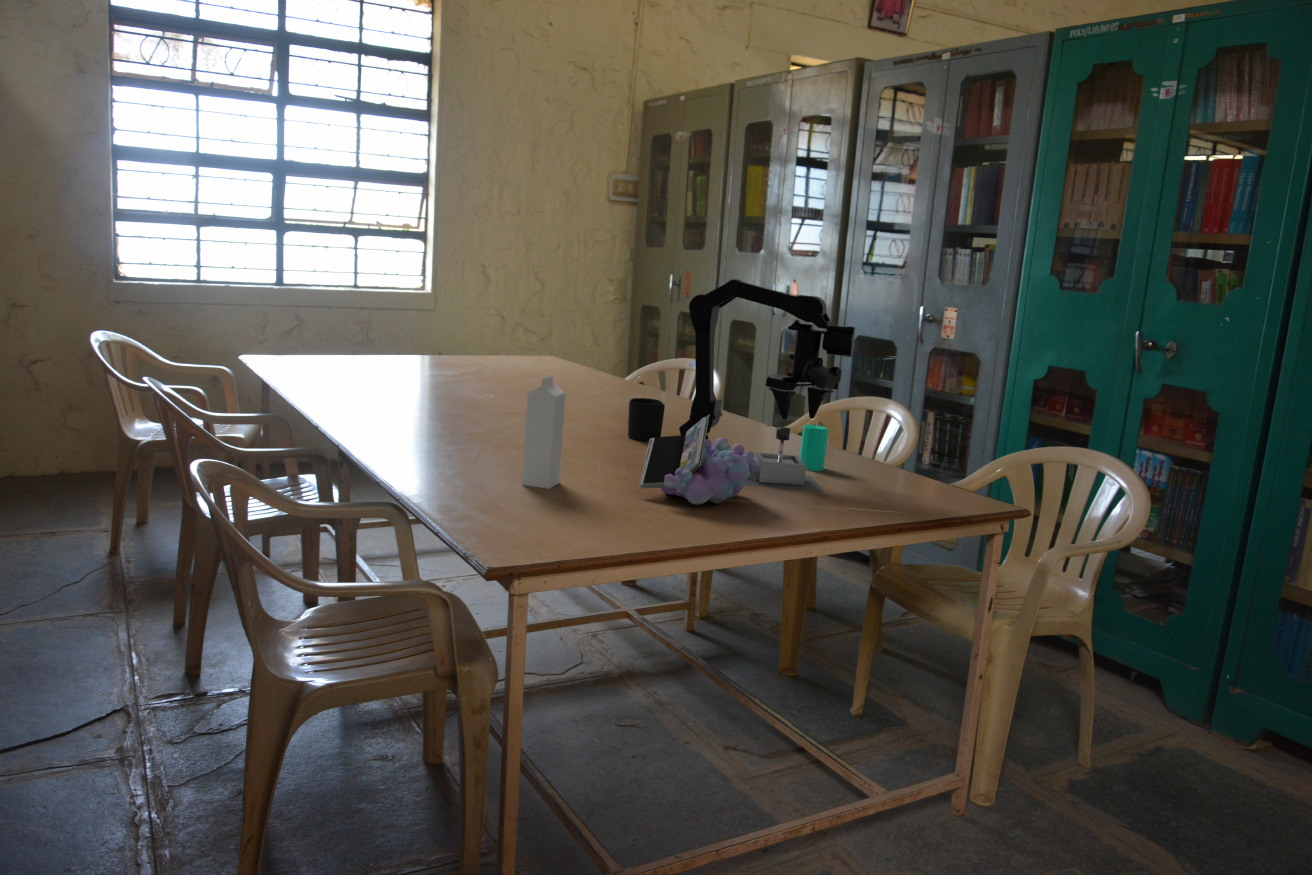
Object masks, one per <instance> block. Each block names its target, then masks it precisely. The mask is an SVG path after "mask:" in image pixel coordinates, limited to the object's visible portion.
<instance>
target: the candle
mask: <svg viewBox="0 0 1312 875" xmlns="http://www.w3.org/2000/svg"><path fill="white" fill-rule="evenodd" d="M817 423H818V421H817V420H816V422H815V425H814V424H805V425H803V428H802V436H801V445H800V454H799V457H800V458H801V460H802V461H803V462H804V463H805V464H806V465H807V466H806V471H813V472H819V471H820V472H821V471H824V469H825V462H826V454H827V444H828V437H829V436H828V435H829V428H827V427H824V426H823V425H819V426H818V424H817Z"/></svg>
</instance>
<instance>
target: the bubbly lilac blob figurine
mask: <svg viewBox="0 0 1312 875" xmlns="http://www.w3.org/2000/svg"><path fill="white" fill-rule="evenodd" d="M709 417H710V414H709V415H708V416H707V417H704V418H702V419H701V420H700V421H699V422H698V423H697V424H696V425H694V426H693V427H692V428H691V429H689V430H688V431H687V433H686V436H683V435H681V434H680V435H670V436H668V435H667V436H661V437H655V438H650V441H648V446H647V450H646V453H645V459H644V463H643V468H642V471H641V475H640V480H639V484H638V489H660V491H662V493H664V494H667V495H669V496H672V495H676V496H677V497H683V498H684V499H685V500H687V501H688V502H689V503H691V504H692V505H702V504H705V503H706V502H708V501H709V502H712V503H714V504H720V503H722V502H723V501H725V499H731V498H734V497H735V496H737V495H739V493H741V492H742V490H743V489H744V487H746V485H745V483H746V482H745V480H746V479H747V478H748V477H749V474H750V473H755V472H757V471H758V470H760V468H761V467H762V463H761V461H760V460H759V459H758V458H756V457H754V456H755V453H754V452H752V451H751V450H746V451H745V448H744V446H743V445H742V444H741V443H735V444H733V446H732V448H731V446H730V444H729V443H728V439H729V438H727V437H718V438H716V440H715V442H714V443H713V444H712V440H710V439H709V438H708V439H707V440H705V439H706V435H708V434H707V428H708V423H709Z"/></svg>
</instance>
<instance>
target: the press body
mask: <svg viewBox="0 0 1312 875" xmlns="http://www.w3.org/2000/svg"><path fill="white" fill-rule="evenodd" d="M778 456H779V453H769V452H768V453H767V452H757V451H756V452H754V457H756V458H758V459H759V460H760V461H761V463H762V467H761V468H760V470H758V471H757V472H755V473H753V475H754V476H755V478H756V480H757V481H758V483H759V484H767V485H781V486H795V487H804V483H805V475H806V473H807V470H806V466H807V465H806V464H805V463H804V462H803V461H802V460H801V458H800V455H797V454H796V455H795V454H784V453H783V456H782V459H792V460H793V461H794V462H795V463H783V462H770V461H765V460H764V458H763V457H766V458H778Z"/></svg>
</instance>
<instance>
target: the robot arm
mask: <svg viewBox="0 0 1312 875" xmlns="http://www.w3.org/2000/svg"><path fill="white" fill-rule="evenodd" d="M736 298H738V299H743V300H747V301H748V302H753V303H757V304H761V305H763V306H768V307H771V308H774V309H775V308H776V309H779V310H782V311H784V312H786V313H787V314H790V315H791V316H793V317H795V318H797V319H795V321H794V322H793V323H792V324H790V325H789V326H787V329H788V330H789V331H796V332H795V333H796V336H795V342H794V350H793V354H792V353H790V354H789V357H788V358H789V360H790V359H791V360H792V366H791V371H787V373H786V374H787V375H786V374H781V373H779V374H778V373H776V374H771V373H770V374H769V375H768V376H767V377H766V381H765V387H768V390H769V391H771V393H772V395H773V398H774V400H775V401H776V405H777V407H778V410H779V413H780V417H781V419H782V420H784V421H786V420H788V416H789V413H790V411H789V410H790V406H791V400H792V397H794V395H795V394H796V393H797V392H796V391H794V390H795V389H796V387H804V386H805V387H807V403H808V404H807V406H808V417H809V419H815V417H816V415H817V413H818V411H819V408H820V407H821V404H822V402H823V401H824V399H825V398H826V397H827V396H828V395H830V394H832V393H834V390H838V388H839V383H840V382H841V378H842V369H841V368H840V367H839V366H831V367H826V366H825V365H824V359H823V357H820V353H821V352H820V350H821V347H822V350H824V351H825V354H826V355H831V356H839V357H846V358H853V354H854V350H855V344H856V340H855V337H856V336H855V334H856V332H855V331H856V327H855V326H852V325H851V326H850V325H848V326H843V325H842V326H841V325H834V324H833V322H832V320H831V319H830V317H829V315H828V314H827V304H826V302H825V300H824V299H823V298H821V297H820V296H817V295H804V294H792V293H786V292H781V291H779V290H774V289H772V288H768V287H763V286H760V285H755V284H752V283H749V282H746V281H743V280H741V279H736V278H735V279H734V278H733V279H729V280H728V281H727V282H726V283H724V284H723V285H721V286H719V287H717V288H715V289H713V290H711V291H709V292H707V293H705V294H703V293H701V294H696V295H695V296H693V298H691V299H690V301H689V304H688V312H689V316H690V322H691V324H692V328H693V331H694V333H695V336H694V337H695V342H694V344H695V350H694V351H695V358H694V360H695V362H694V363H695V393H694V397H693V399H692V403H691V406H690V412H689V419H687V421H686V422H684V423H683V424H681V425H680V426H679V428H678V429H679V434H680V435H683V436H686V433H687V431H688V430H689V429H691V428H692V427H693V426H694V425H696V424H697V423H698V422H699V421H700V420H701V419H702V418H704V417H707V416H708V415H709V414H710V417H709V423H708V428H707V434H706V439H705V440H707V439H709V435H708V434H709V433H710V432H711V430H712V428H715V427H716V426H717V425H718V424H719V422H720V419H721V417H723V413H722V404H723V403H722V402H723V400H722V399H717V397H716V395H715V391H714V390H715V388H714V386H715V385H714V384H715V382H714V381H715V380H714V379H715V378H714V377H715V374H714V373H715V370H714V369H715V367H714V364H715V363H714V362H715V358H714V357H715V356H714V354H715V352H714V350H715V347H714V346H715V345H714V344H715V343H714V342H715V340H714V337H715V336H714V335H715V330H716V327H717V324H718V321H719V314H720V309H721V308H723V307H725V306H727V305H728V304H729V303H731V302H732V301H734V300H735V299H736ZM800 320H802V321H803V322H805V323H802V322H800ZM808 323H809V324H808ZM810 323H812V324H810ZM814 326H815V327H817V328H818V329H815V327H814ZM821 329H824V330H821ZM822 336H823V337H822ZM821 342H822V343H821ZM821 345H822V346H821Z"/></svg>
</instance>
